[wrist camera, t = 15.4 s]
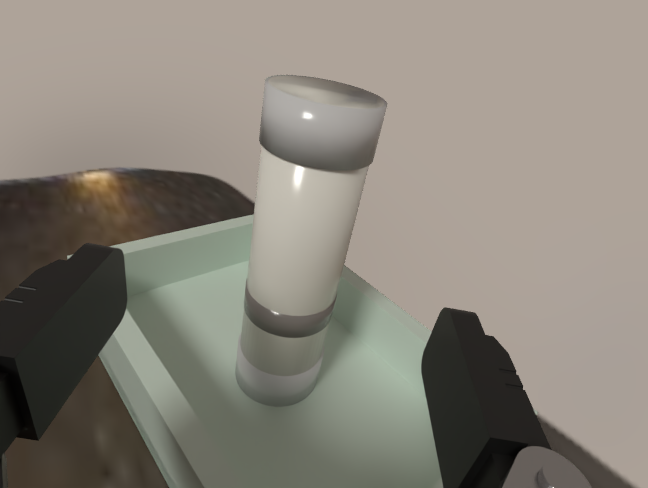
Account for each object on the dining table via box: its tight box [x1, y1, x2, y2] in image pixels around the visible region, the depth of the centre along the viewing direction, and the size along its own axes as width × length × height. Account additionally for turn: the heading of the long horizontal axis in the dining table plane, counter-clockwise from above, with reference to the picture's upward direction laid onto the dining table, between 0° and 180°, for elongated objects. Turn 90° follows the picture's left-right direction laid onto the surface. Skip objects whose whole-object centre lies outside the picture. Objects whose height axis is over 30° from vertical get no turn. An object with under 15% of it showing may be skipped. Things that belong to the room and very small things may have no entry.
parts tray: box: [67, 215, 538, 488], centre depth 21 cm, size 20×13×4 cm, turn 42°
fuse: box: [235, 75, 387, 407], centre depth 18 cm, size 4×4×14 cm
